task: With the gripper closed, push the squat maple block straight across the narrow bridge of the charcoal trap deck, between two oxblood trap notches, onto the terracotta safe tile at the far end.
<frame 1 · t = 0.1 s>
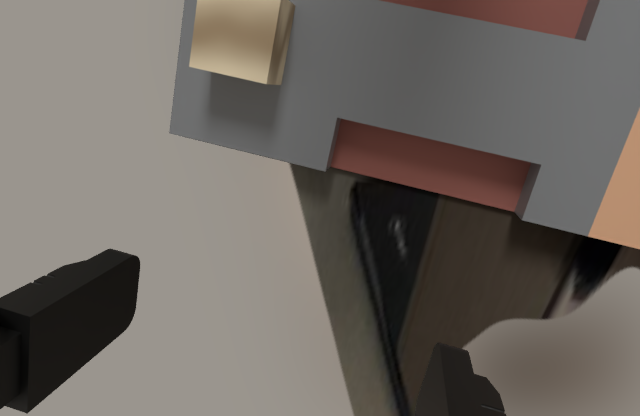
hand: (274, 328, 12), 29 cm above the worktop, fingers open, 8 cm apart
trap deck: (449, 82, 37), on the worktop
maple block: (252, 38, 36), point 3 cm above the worktop, touching trap deck
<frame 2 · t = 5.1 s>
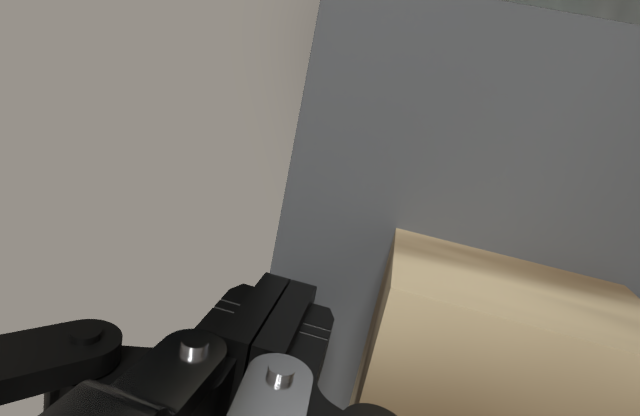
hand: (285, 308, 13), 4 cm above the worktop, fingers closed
maple block: (473, 351, 13), point 3 cm above the worktop, touching gripper
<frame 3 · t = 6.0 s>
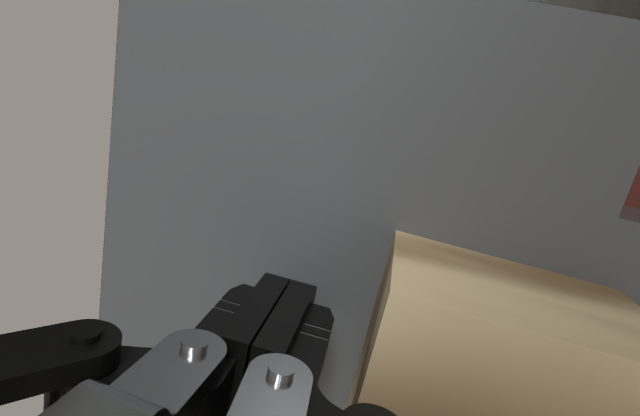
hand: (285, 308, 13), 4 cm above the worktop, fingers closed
maple block: (471, 354, 13), point 3 cm above the worktop, touching gripper
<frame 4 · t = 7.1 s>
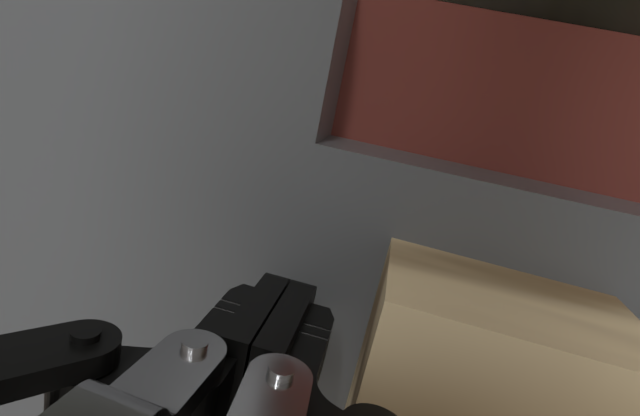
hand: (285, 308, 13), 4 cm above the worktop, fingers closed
trap deck: (533, 313, 15), on the worktop
maple block: (467, 359, 13), point 3 cm above the worktop, touching gripper, trap deck
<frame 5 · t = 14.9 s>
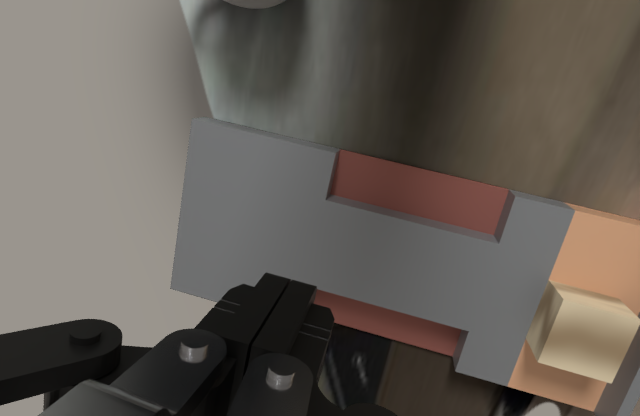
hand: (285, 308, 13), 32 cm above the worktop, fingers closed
trap deck: (398, 255, 45), on the worktop
maple block: (570, 318, 41), point 3 cm above the worktop, touching trap deck
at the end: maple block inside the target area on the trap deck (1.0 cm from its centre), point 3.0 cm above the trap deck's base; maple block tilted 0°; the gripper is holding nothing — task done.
